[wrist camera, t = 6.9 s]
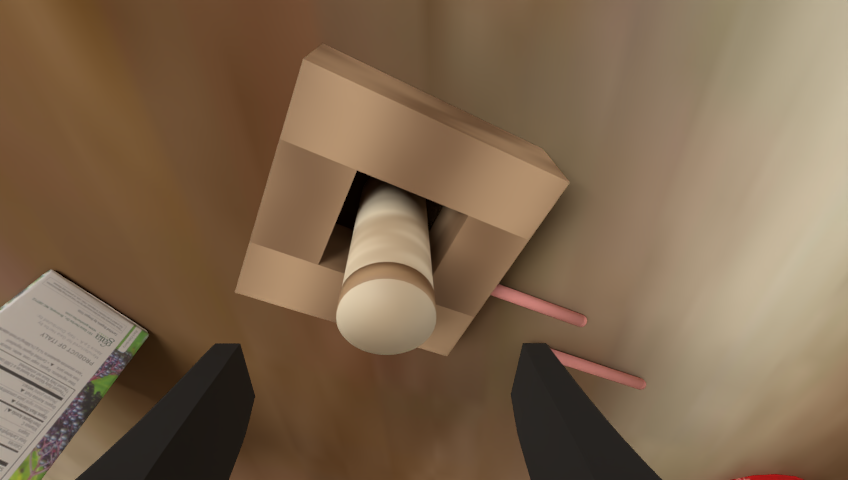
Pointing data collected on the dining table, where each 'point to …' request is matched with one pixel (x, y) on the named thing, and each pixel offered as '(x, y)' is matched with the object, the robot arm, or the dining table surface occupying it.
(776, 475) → the kitchen timer
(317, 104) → the wooden square frame
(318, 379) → the dining table surface
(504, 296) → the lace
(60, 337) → the syrup box
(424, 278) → the tan round log
